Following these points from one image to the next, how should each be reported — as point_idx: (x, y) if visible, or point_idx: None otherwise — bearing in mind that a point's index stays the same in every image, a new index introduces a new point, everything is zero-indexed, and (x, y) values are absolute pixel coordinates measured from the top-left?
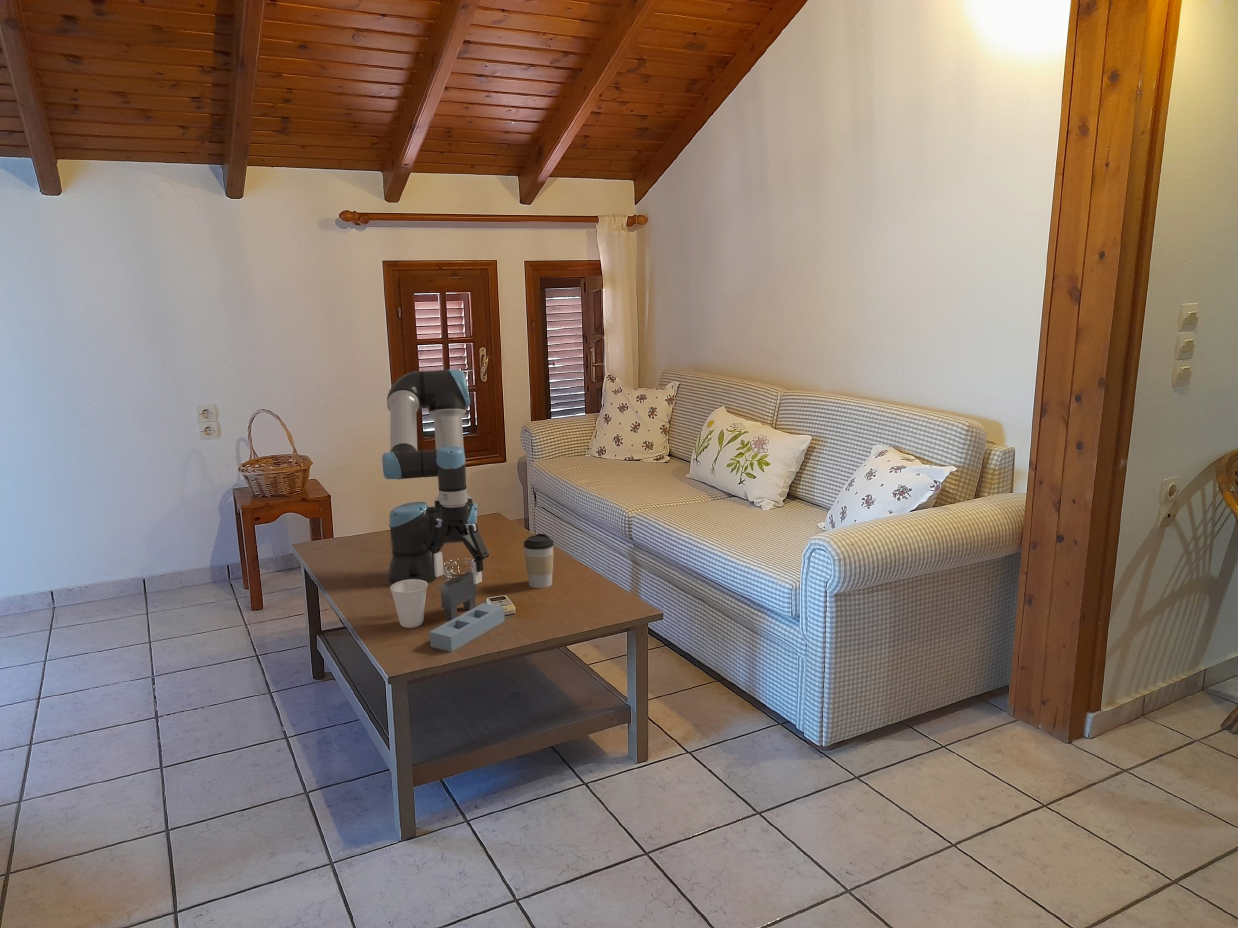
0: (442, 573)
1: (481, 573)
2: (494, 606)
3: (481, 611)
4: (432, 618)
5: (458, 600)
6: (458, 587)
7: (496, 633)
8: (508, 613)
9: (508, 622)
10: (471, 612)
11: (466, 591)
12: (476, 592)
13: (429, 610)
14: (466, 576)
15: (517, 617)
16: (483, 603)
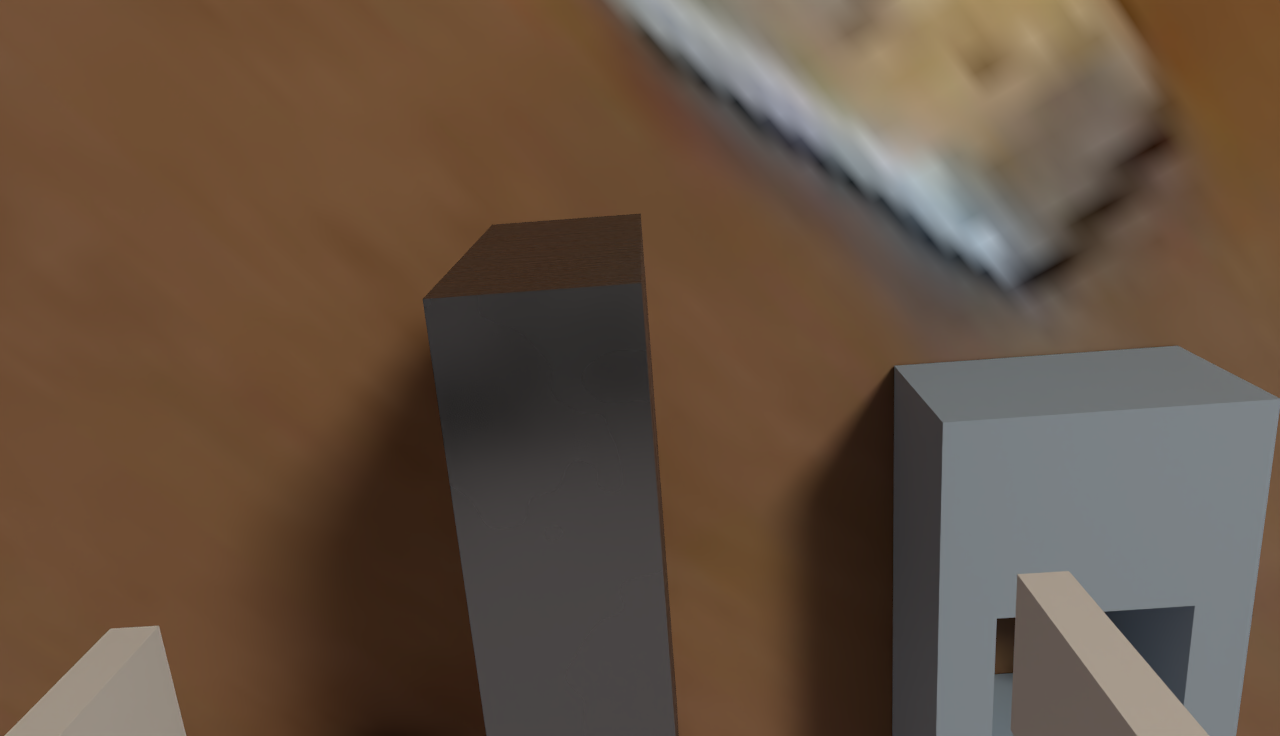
0: (155, 665)
1: (1142, 664)
2: (1148, 440)
3: None
4: (455, 655)
5: (668, 598)
6: (673, 691)
7: (1263, 608)
8: (1094, 151)
9: (1235, 351)
10: (991, 690)
11: (658, 471)
12: (641, 231)
13: (259, 532)
14: (597, 490)
15: (1259, 191)
16: (956, 436)
